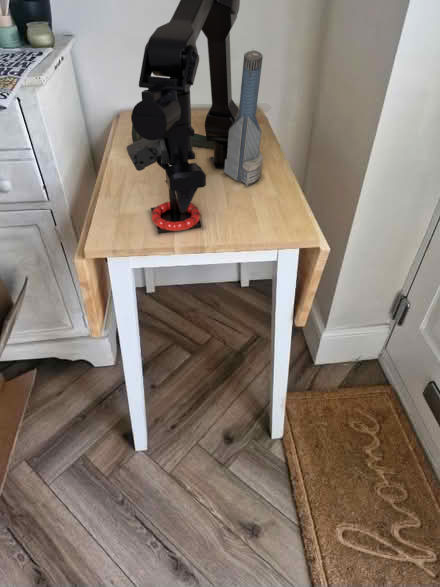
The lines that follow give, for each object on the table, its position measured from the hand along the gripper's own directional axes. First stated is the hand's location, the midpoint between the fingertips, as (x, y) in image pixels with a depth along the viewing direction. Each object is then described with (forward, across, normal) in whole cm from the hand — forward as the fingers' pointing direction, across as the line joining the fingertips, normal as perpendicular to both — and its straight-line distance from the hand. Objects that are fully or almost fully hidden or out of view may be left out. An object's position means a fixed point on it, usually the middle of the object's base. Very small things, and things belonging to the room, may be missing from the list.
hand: (179, 204), depth 82 cm
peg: (+6, -6, 0) cm, 9 cm away
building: (+6, -21, +20) cm, 30 cm away
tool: (+5, -44, +10) cm, 46 cm away
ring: (+5, -4, 0) cm, 6 cm away
